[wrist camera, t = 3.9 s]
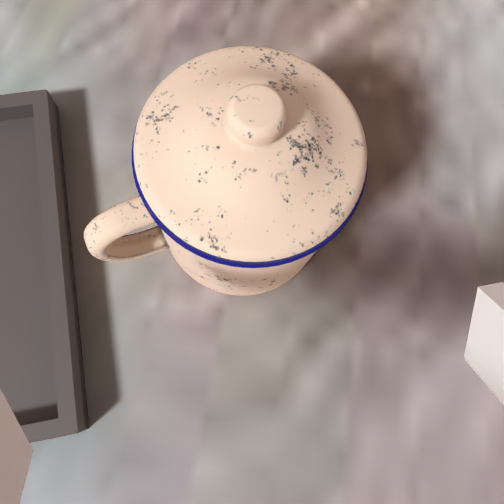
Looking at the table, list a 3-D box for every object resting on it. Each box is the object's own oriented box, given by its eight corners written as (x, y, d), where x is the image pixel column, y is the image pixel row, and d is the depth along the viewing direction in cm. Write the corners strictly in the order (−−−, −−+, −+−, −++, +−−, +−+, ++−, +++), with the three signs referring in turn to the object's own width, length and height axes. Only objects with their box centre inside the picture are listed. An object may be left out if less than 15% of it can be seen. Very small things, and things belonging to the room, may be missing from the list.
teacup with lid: (280, 126, 27) (321, -43, 16) (348, 262, 26) (449, 178, 14) (87, 199, 25) (-19, 65, 14) (146, 351, 24) (77, 335, 12)
